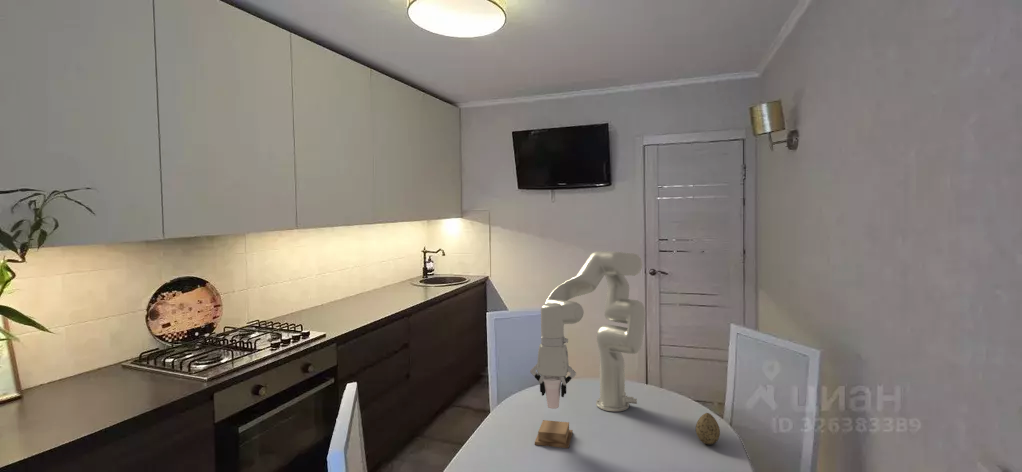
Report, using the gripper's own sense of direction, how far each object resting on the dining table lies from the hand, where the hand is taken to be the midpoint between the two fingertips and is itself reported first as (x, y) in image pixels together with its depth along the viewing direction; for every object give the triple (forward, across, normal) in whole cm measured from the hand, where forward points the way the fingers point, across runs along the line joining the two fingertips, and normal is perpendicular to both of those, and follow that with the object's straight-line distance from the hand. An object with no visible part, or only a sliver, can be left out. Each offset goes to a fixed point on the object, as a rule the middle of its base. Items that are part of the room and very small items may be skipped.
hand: (553, 394), depth 154 cm
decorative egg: (+15, -49, -7) cm, 52 cm away
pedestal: (+15, 0, 0) cm, 15 cm away
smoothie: (+4, 0, 0) cm, 4 cm away
